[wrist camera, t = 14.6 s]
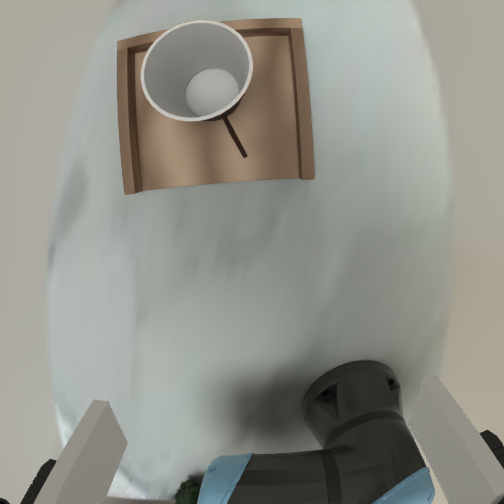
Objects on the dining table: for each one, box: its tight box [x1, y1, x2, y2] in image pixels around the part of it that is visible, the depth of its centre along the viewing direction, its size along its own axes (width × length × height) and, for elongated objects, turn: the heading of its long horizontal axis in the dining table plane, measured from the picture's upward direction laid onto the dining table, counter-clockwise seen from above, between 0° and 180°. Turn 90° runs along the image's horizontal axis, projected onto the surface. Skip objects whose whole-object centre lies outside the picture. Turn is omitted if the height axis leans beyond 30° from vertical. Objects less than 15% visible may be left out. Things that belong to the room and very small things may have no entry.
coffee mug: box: [140, 20, 253, 158], centre depth 25 cm, size 12×9×10 cm
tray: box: [117, 18, 315, 195], centre depth 29 cm, size 19×17×3 cm
